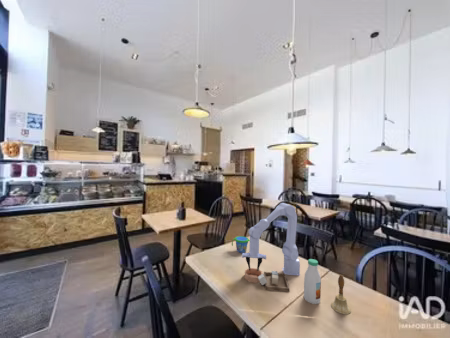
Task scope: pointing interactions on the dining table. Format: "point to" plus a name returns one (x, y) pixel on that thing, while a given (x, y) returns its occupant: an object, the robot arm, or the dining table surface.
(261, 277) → the white block
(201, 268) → the dining table surface
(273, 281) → the beige block
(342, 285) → the hand bell
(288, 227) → the robot arm
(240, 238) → the snack cup
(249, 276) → the terracotta bowl
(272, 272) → the blue-grey block
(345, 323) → the dining table surface
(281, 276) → the walnut tray
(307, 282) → the milk bottle
